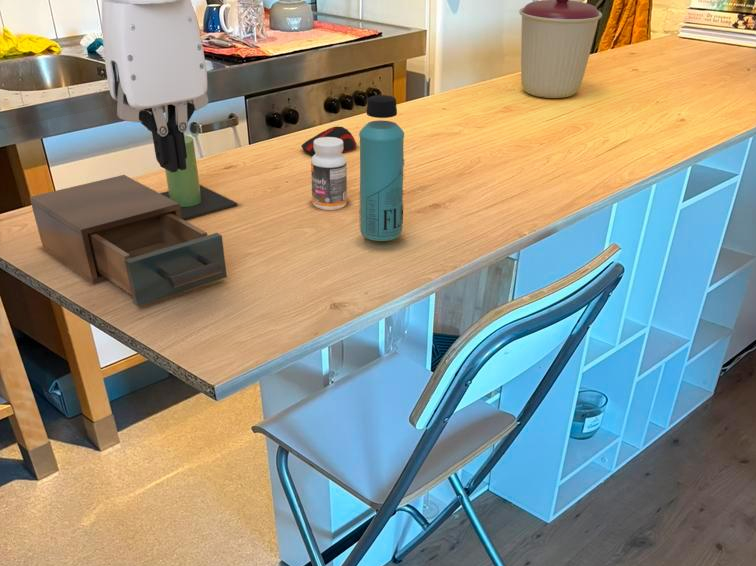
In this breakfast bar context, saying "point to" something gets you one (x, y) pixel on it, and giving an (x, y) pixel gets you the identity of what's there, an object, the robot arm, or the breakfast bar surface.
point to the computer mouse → (335, 132)
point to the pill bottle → (329, 174)
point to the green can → (185, 179)
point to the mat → (205, 204)
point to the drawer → (158, 257)
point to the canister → (556, 46)
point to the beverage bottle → (381, 172)
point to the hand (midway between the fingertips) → (173, 167)
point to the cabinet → (93, 217)
